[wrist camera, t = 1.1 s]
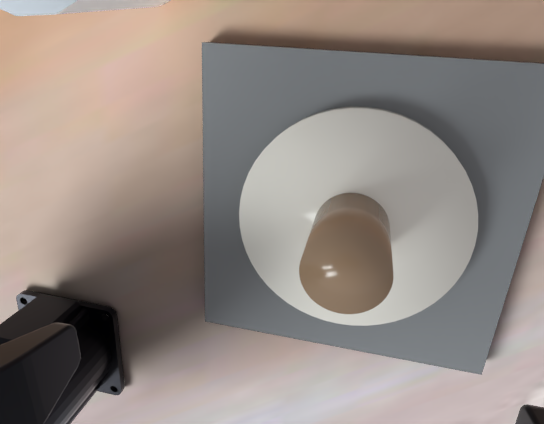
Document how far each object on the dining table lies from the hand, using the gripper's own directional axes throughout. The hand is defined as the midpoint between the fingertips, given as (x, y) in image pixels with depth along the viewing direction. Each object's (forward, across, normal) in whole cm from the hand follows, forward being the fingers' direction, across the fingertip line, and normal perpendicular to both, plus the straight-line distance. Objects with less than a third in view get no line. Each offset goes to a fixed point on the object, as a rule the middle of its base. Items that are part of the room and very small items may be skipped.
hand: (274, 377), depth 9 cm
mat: (+12, -1, +1) cm, 12 cm away
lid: (+11, -1, +1) cm, 11 cm away
